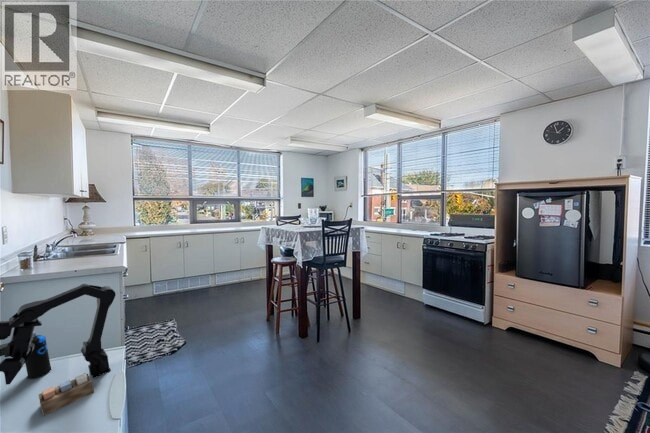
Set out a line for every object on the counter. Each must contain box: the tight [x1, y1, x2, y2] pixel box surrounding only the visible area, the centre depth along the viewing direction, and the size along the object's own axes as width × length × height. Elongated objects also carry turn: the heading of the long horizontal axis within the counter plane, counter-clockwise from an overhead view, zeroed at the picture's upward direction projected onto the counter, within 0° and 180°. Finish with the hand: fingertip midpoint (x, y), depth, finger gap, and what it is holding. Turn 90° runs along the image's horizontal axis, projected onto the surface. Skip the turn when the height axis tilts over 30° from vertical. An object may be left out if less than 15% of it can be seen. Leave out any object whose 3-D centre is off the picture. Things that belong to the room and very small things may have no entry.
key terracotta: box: [41, 386, 55, 400], centre depth 114 cm, size 3×3×4 cm
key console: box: [38, 373, 95, 417], centre depth 118 cm, size 15×8×5 cm, turn 140°
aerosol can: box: [24, 331, 52, 380], centre depth 134 cm, size 8×8×20 cm
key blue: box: [58, 379, 72, 393], centre depth 118 cm, size 3×3×4 cm
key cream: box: [74, 373, 88, 386], centre depth 121 cm, size 3×3×4 cm
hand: (12, 378), depth 114 cm, fingers open, 9 cm apart
